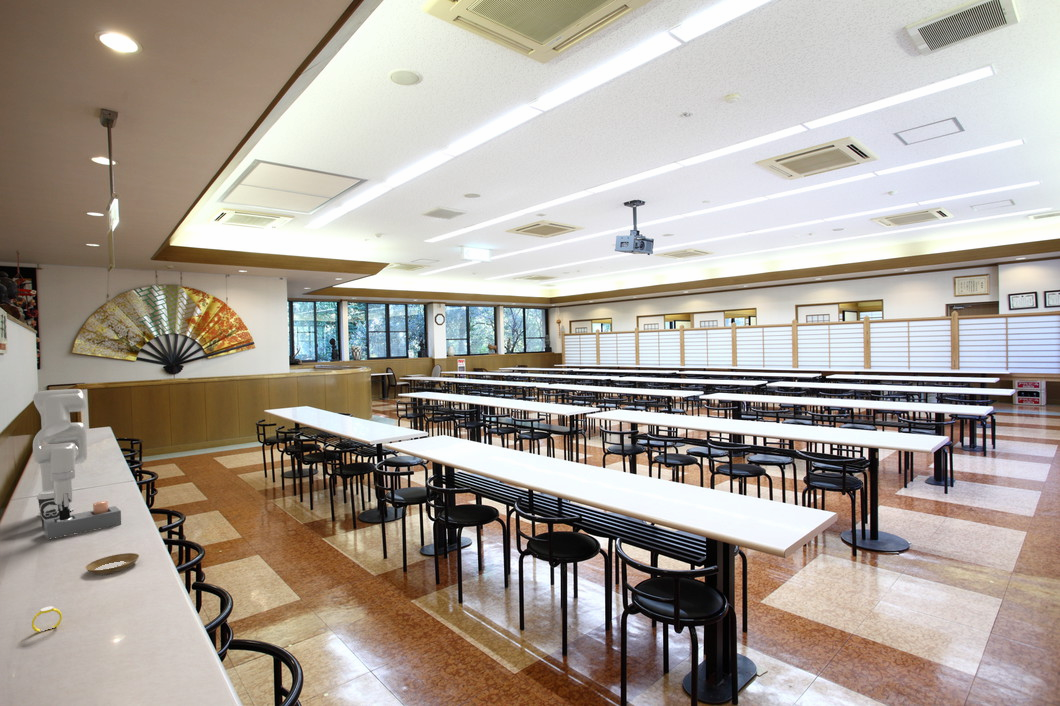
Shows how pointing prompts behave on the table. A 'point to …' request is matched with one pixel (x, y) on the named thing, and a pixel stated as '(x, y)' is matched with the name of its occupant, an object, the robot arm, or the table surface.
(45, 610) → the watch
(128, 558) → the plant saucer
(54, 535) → the plunger housing
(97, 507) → the peach rounded cylinder
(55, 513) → the coffee cup
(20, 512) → the table surface
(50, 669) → the table surface
